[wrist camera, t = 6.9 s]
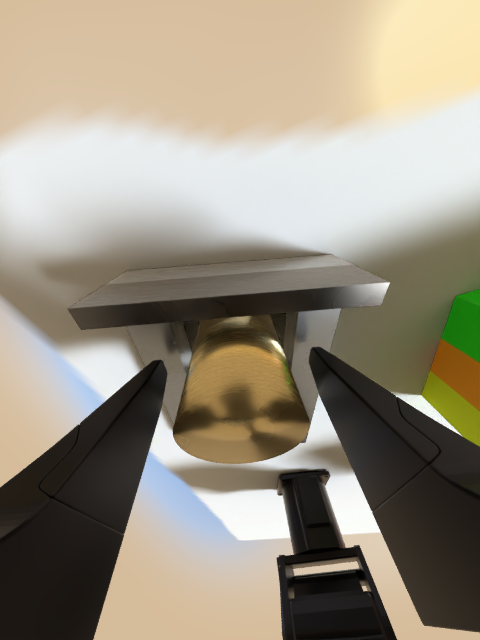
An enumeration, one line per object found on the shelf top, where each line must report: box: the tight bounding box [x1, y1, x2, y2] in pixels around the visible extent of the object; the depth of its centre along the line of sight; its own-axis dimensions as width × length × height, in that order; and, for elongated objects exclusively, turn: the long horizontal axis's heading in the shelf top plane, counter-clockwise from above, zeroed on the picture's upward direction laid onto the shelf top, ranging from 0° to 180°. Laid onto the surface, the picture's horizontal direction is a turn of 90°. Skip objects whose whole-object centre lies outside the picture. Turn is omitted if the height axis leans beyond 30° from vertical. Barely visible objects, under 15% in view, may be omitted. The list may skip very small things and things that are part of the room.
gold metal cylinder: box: [173, 314, 310, 464], centre depth 8 cm, size 4×4×6 cm
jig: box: [68, 254, 390, 443], centre depth 11 cm, size 15×10×4 cm, turn 4°
